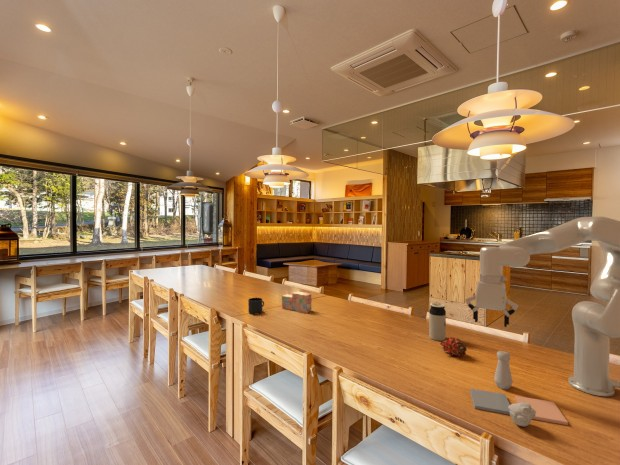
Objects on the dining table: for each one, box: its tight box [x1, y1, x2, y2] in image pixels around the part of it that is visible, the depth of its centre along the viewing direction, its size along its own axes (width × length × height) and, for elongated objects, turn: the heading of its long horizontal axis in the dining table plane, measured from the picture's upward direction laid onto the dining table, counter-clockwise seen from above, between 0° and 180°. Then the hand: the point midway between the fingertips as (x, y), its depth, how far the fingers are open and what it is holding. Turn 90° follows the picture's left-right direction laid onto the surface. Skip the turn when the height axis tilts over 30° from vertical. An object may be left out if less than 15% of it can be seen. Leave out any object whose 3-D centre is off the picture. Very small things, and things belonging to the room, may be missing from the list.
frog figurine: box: [508, 402, 536, 427], centre depth 93 cm, size 6×7×7 cm
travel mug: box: [428, 302, 447, 342], centre depth 161 cm, size 8×8×18 cm
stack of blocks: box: [281, 291, 312, 314], centre depth 217 cm, size 21×6×12 cm, turn 58°
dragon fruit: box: [439, 336, 468, 357], centre depth 142 cm, size 8×8×12 cm
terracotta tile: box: [514, 395, 569, 426], centre depth 99 cm, size 11×11×1 cm
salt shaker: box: [493, 350, 513, 391], centre depth 114 cm, size 6×6×13 cm
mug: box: [247, 297, 265, 315], centre depth 212 cm, size 9×12×9 cm
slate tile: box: [469, 388, 511, 416], centre depth 104 cm, size 11×11×1 cm
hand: (490, 323), depth 117 cm, fingers open, 9 cm apart
